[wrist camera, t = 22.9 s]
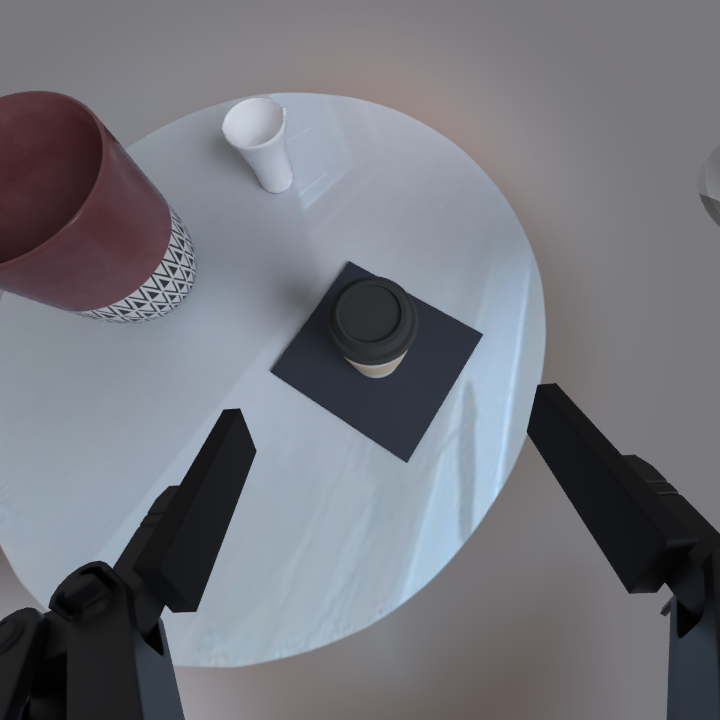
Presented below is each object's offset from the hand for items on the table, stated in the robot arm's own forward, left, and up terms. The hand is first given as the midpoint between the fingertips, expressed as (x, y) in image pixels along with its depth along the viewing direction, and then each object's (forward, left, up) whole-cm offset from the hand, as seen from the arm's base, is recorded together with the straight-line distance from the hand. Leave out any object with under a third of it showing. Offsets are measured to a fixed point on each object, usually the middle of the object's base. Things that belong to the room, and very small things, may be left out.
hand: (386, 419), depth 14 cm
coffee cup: (+7, -8, -27) cm, 29 cm away
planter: (+41, 0, -28) cm, 49 cm away
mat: (+7, -8, -28) cm, 30 cm away
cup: (+37, -25, -28) cm, 52 cm away
